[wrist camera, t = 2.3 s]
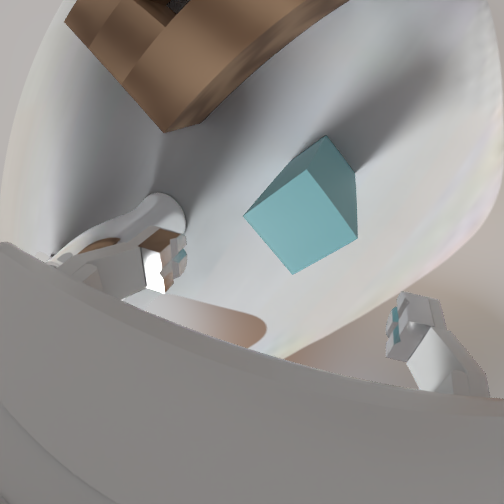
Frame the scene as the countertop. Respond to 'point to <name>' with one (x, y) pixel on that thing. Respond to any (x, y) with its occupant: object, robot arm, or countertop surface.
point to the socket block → (188, 47)
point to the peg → (308, 207)
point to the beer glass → (126, 227)
